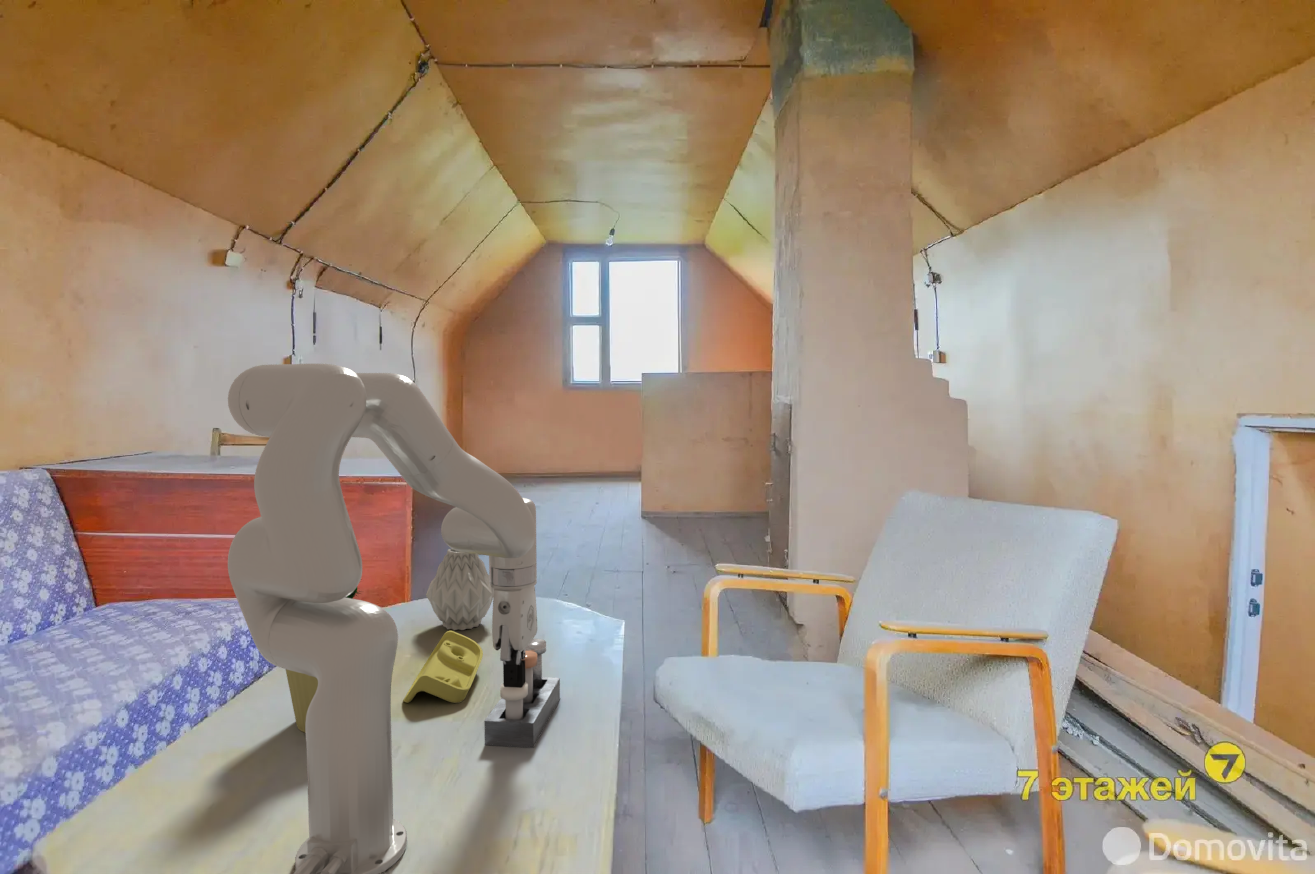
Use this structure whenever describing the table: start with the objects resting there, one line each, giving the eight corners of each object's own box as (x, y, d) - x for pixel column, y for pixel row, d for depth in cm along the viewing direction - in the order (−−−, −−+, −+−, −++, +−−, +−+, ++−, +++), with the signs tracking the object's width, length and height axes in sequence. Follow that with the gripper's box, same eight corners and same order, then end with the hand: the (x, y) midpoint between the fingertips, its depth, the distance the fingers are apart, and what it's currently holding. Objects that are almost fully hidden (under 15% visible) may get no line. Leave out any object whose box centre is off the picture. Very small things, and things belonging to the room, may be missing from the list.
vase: (510, 621, 177) (509, 546, 175) (459, 641, 163) (458, 560, 162) (464, 610, 185) (462, 539, 184) (411, 628, 171) (410, 551, 170)
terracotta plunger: (533, 709, 122) (533, 660, 121) (508, 708, 122) (507, 659, 122) (540, 698, 126) (540, 651, 126) (515, 697, 127) (515, 650, 126)
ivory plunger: (523, 743, 116) (523, 691, 116) (497, 741, 117) (496, 690, 116) (531, 730, 121) (530, 680, 120) (505, 729, 121) (505, 679, 120)
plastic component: (468, 692, 130) (416, 671, 129) (451, 727, 131) (399, 706, 130) (487, 645, 150) (442, 626, 149) (472, 676, 151) (427, 657, 150)
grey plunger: (542, 694, 128) (542, 647, 127) (518, 693, 128) (518, 646, 128) (549, 684, 132) (548, 639, 132) (525, 683, 133) (525, 638, 132)
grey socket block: (533, 747, 115) (533, 723, 115) (484, 744, 116) (484, 720, 116) (559, 699, 133) (559, 677, 133) (517, 697, 134) (517, 675, 134)
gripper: (522, 588, 109) (524, 706, 110) (547, 564, 124) (548, 668, 125) (474, 587, 110) (476, 704, 111) (504, 562, 125) (506, 666, 126)
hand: (514, 685), depth 118 cm, fingers closed
